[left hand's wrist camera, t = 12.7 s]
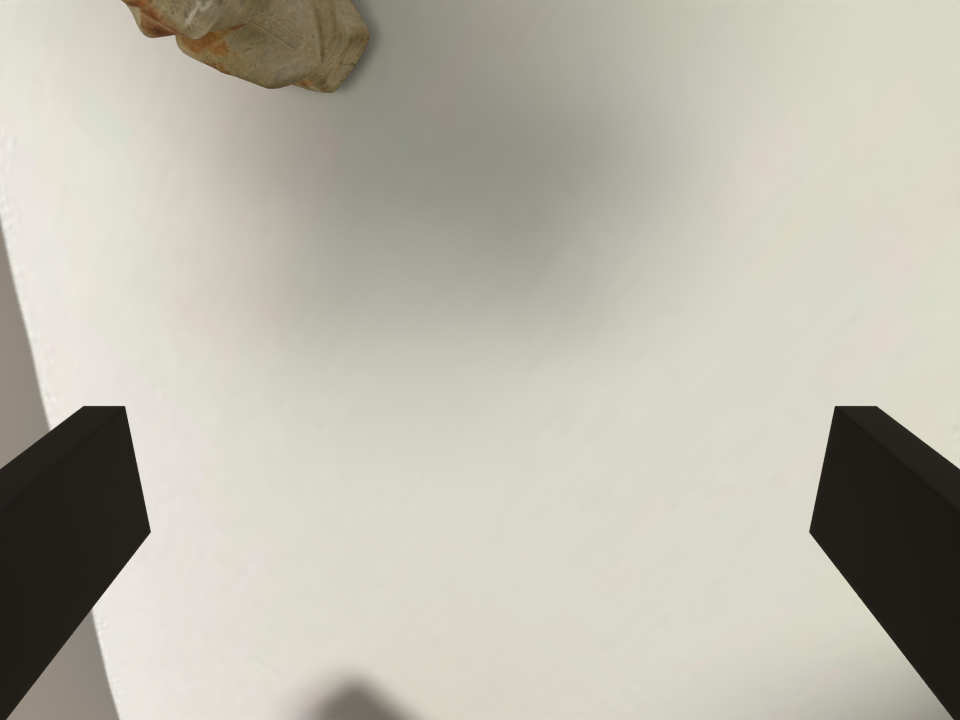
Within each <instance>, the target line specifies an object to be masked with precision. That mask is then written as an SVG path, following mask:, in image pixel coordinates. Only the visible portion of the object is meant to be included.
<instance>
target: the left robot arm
mask: <svg viewBox="0 0 960 720" xmlns="http://www.w3.org/2000/svg"><path fill="white" fill-rule="evenodd" d="M150 533H151V530H150V526H149V521H148V516H147V511H146V506H145V501H144V496H143V492H142V487H141V482H140V477H139V472H138V467H137V462H136V457H135V453H134V448H133V443H132V438H131V433H130V428H129V423H128V418H127V414H126V409H125V406H83V407H82V408H80V409H79V410H78V411H76V412H75V413H74V414H72V415H71V416H70V417H69V418H67V419H66V420H65V421H63V422H62V423H61V424H59V425H58V426H57V427H55V428H54V429H53V430H51V431H50V432H49V433H47V434H46V435H45V436H44V437H42V438H41V439H40V440H38V441H37V442H36V443H34V444H33V445H32V446H30V447H29V448H28V449H26V450H25V451H24V452H22V453H21V454H20V455H18V456H17V457H16V458H14V459H13V460H12V461H11V462H9V463H8V464H7V465H5V466H4V467H3V468H1V469H0V720H6V719H7V718H8V716H9V715H10V714H11V713H12V711H13V710H14V709H15V707H16V706H17V705H18V704H19V702H20V701H21V700H22V698H23V697H24V696H25V694H26V693H27V692H28V691H29V689H30V688H31V687H32V685H33V684H34V683H35V682H36V680H37V679H38V678H39V676H40V675H41V674H42V672H43V671H44V670H45V669H46V667H47V666H48V665H49V663H50V662H51V661H52V660H53V658H54V657H55V656H56V654H57V653H58V652H59V650H60V649H61V648H62V647H63V645H64V644H65V643H66V641H67V640H68V639H69V637H70V636H71V635H72V634H73V632H74V631H75V630H76V628H77V627H78V626H79V625H80V623H81V622H82V621H83V619H84V618H85V617H86V615H87V614H88V613H89V612H90V610H91V609H92V608H93V606H94V605H95V604H96V603H97V601H98V600H99V599H100V597H101V596H102V595H103V593H104V592H105V591H106V590H107V588H108V587H109V586H110V584H111V583H112V582H113V580H114V579H115V578H116V577H117V575H118V574H119V573H120V571H121V570H122V569H123V568H124V566H125V565H126V564H127V562H128V561H129V560H130V558H131V557H132V556H133V555H134V553H135V552H136V551H137V549H138V548H139V547H140V545H141V544H142V543H143V542H144V540H145V539H146V538H147V536H148V535H149V534H150ZM809 533H810V534H811V535H812V536H813V538H814V539H815V540H816V542H817V543H818V544H819V545H820V547H821V548H822V549H823V551H824V552H825V553H826V555H827V556H828V557H829V558H830V560H831V561H832V562H833V564H834V565H835V566H836V568H837V569H838V570H839V571H840V573H841V574H842V575H843V577H844V578H845V579H846V580H847V582H848V583H849V584H850V586H851V587H852V588H853V590H854V591H855V592H856V593H857V595H858V596H859V597H860V599H861V600H862V601H863V603H864V604H865V605H866V606H867V608H868V609H869V610H870V612H871V613H872V614H873V615H874V617H875V618H876V619H877V621H878V622H879V623H880V625H881V626H882V627H883V628H884V630H885V631H886V632H887V634H888V635H889V636H890V638H891V639H892V640H893V641H894V643H895V644H896V645H897V647H898V648H899V649H900V650H901V652H902V653H903V654H904V656H905V657H906V658H907V660H908V661H909V662H910V663H911V665H912V666H913V667H914V669H915V670H916V671H917V673H918V674H919V675H920V676H921V678H922V679H923V680H924V682H925V683H926V684H927V685H928V687H929V688H930V689H931V691H932V692H933V693H934V695H935V696H936V697H937V698H938V700H939V701H940V702H941V704H942V705H943V706H944V707H945V709H946V710H947V711H948V713H949V714H950V715H951V717H952V718H953V719H954V720H960V469H959V468H957V467H956V466H955V465H953V464H952V463H951V462H949V461H948V460H947V459H946V458H944V457H943V456H942V455H940V454H939V453H938V452H936V451H935V450H934V449H932V448H931V447H930V446H928V445H927V444H926V443H924V442H923V441H922V440H920V439H919V438H918V437H917V436H915V435H914V434H913V433H911V432H910V431H909V430H907V429H906V428H905V427H903V426H902V425H901V424H899V423H898V422H897V421H895V420H894V419H893V418H891V417H890V416H889V415H888V414H886V413H885V412H884V411H882V410H881V409H880V408H878V407H877V406H835V409H834V414H833V418H832V423H831V428H830V433H829V438H828V443H827V448H826V453H825V457H824V462H823V467H822V472H821V477H820V482H819V487H818V492H817V496H816V501H815V506H814V511H813V516H812V521H811V526H810V530H809Z"/></svg>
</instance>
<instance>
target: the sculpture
mask: <svg viewBox="0 0 960 720" xmlns="http://www.w3.org/2000/svg"><path fill="white" fill-rule="evenodd" d="M122 1H123V2H124V3H126V5H127V6H128V8H129V9H130V10H131V12H132V14H133V16H134V18H135V21H136V23H137V25H138V27H139V29H140V31H141V32H142V33H143V34H144V35H145V36H147V37H149V38H157V37H164V36H171V35H176V42H177V44H178V47H179V48H180V49H181V51H182V52H183V53H185V54H186V55H188V56H190V57H191V58H194V59H196V60H198V61H200V62H202V63H204V64H206V65H209V66H211V67H213V68H215V69H217V70H218V71H220V72H222V73H225V74H228V75H232V76H235V77H238V78H241V79H243V80H246V81H249V82H252V83H254V84H257V85H259V86H262V87H265V88H268V89H276V88H281V87H285V86H288V85H291V84H292V85H295V86H299V87H302V88H305V89H309V90H313V91H317V92H325V93H332V92H334V91H336V90H337V89H338V87H339V86H340V85H341V84H342V83H343V81H344V80H345V79H346V77H347V76H348V75H349V73H350V72H351V70H352V69H353V67H354V66H355V64H356V63H357V61H358V60H359V58H360V56H361V55H362V53H363V51H364V49H365V47H366V45H367V43H368V40H369V37H370V33H369V30H368V28H367V26H366V24H365V22H364V21H363V19H362V17H361V15H360V14H359V12H358V10H357V9H356V7H355V6H354V5H353V3H352V2H351V0H122Z"/></svg>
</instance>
